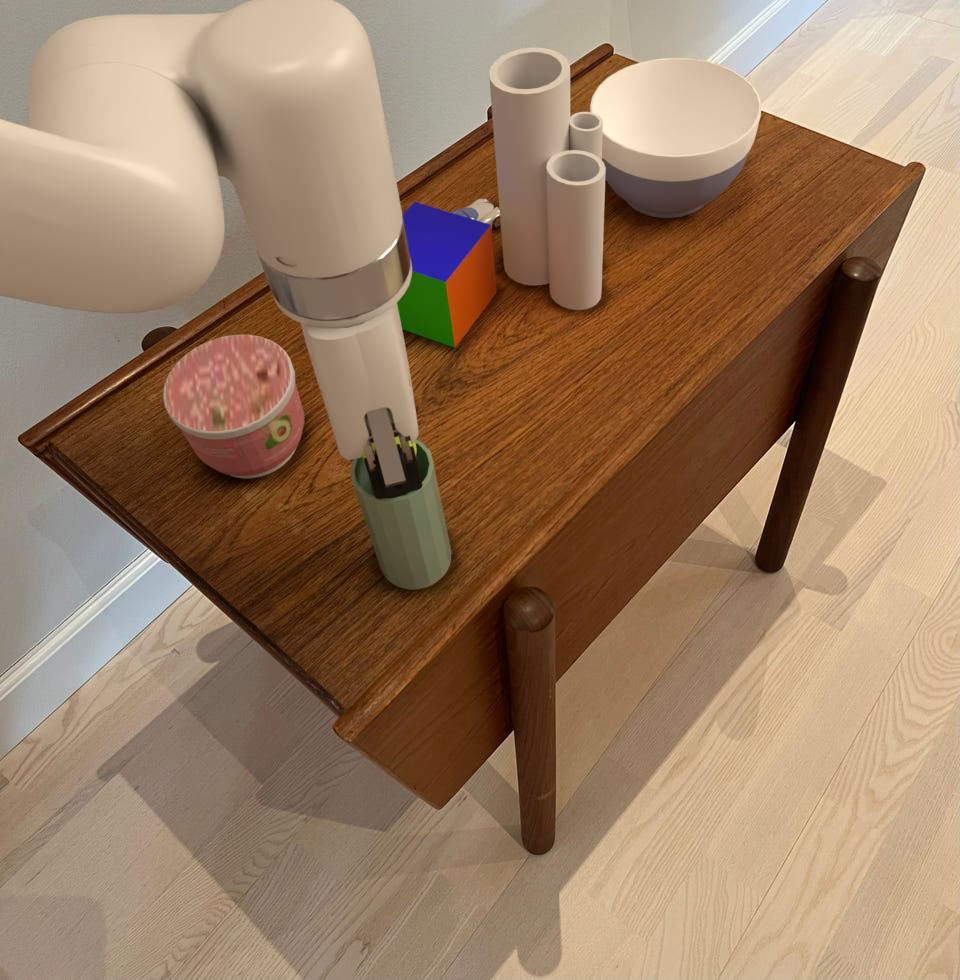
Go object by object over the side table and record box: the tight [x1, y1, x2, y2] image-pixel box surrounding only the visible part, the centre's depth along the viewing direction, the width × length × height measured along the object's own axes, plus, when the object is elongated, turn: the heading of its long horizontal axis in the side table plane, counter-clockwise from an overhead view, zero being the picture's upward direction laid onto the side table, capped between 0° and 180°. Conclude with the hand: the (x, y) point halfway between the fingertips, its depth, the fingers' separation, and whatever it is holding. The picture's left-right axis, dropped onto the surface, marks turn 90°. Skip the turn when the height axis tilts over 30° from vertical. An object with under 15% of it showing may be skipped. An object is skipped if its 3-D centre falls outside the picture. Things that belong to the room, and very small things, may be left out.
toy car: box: [451, 198, 501, 230], centre depth 94 cm, size 4×12×3 cm, turn 126°
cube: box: [397, 201, 498, 349], centre depth 86 cm, size 8×8×8 cm
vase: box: [488, 47, 606, 311], centre depth 83 cm, size 11×7×20 cm, turn 50°
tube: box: [349, 439, 452, 591], centre depth 69 cm, size 6×6×12 cm
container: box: [162, 334, 305, 479], centre depth 78 cm, size 10×10×8 cm
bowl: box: [589, 57, 762, 219], centre depth 93 cm, size 16×16×10 cm
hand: (392, 464), depth 64 cm, fingers closed on ball, 3 cm apart
